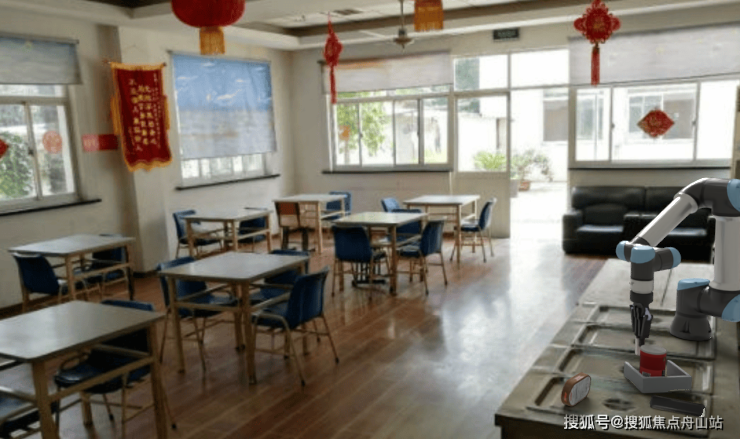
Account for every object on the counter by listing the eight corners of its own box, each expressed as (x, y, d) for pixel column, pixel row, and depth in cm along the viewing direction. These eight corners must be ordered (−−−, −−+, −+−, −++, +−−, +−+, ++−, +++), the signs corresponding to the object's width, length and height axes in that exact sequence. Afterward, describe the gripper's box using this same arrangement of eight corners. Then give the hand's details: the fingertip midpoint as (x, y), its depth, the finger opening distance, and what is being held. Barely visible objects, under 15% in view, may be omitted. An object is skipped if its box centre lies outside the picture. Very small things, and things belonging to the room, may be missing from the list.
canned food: (667, 384, 197) (669, 353, 196) (641, 383, 199) (643, 352, 197) (661, 375, 205) (662, 344, 203) (636, 373, 206) (637, 343, 205)
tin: (583, 392, 194) (584, 367, 192) (592, 395, 192) (593, 370, 190) (559, 408, 184) (560, 382, 182) (569, 411, 181) (569, 385, 180)
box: (669, 373, 206) (670, 360, 205) (691, 391, 192) (692, 376, 192) (623, 375, 205) (624, 361, 205) (642, 393, 192) (643, 378, 191)
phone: (705, 415, 175) (649, 404, 182) (704, 419, 175) (649, 408, 183) (705, 404, 182) (651, 394, 189) (705, 407, 182) (651, 397, 189)
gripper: (622, 285, 214) (621, 347, 218) (639, 296, 201) (637, 362, 205) (643, 284, 214) (641, 346, 218) (661, 295, 201) (659, 361, 205)
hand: (639, 354), depth 211 cm, fingers closed
